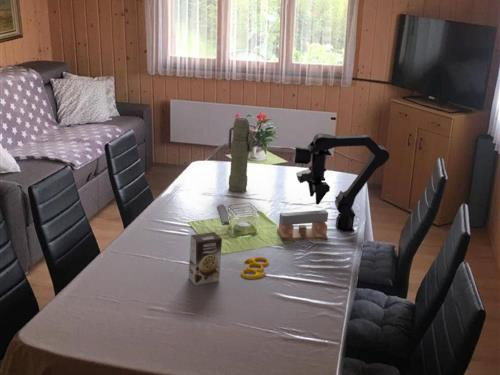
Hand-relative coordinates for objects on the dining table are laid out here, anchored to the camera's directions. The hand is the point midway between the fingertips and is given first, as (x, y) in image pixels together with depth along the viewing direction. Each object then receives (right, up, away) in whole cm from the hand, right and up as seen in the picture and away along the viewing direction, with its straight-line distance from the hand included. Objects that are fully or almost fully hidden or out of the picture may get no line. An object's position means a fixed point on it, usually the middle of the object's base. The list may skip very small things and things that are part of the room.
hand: (314, 200), depth 253 cm
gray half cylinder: (-38, -7, +10) cm, 40 cm away
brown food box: (-43, -26, -46) cm, 68 cm away
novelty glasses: (-25, -24, -35) cm, 50 cm away
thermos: (-33, +4, +41) cm, 53 cm away
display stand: (-6, -14, -5) cm, 16 cm away
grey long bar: (-5, -9, -7) cm, 13 cm away
